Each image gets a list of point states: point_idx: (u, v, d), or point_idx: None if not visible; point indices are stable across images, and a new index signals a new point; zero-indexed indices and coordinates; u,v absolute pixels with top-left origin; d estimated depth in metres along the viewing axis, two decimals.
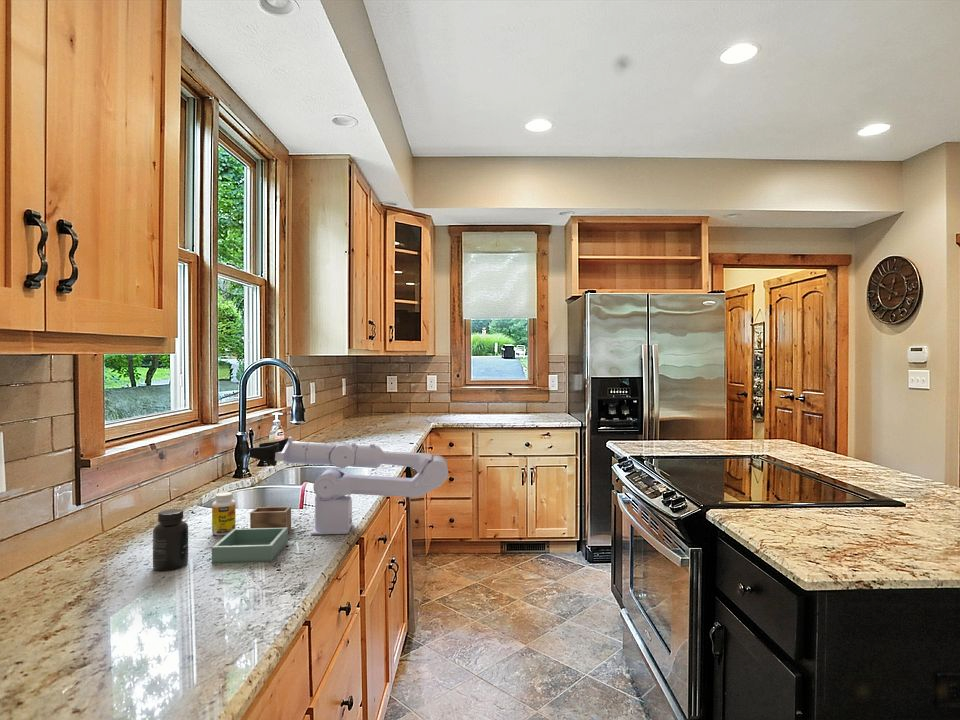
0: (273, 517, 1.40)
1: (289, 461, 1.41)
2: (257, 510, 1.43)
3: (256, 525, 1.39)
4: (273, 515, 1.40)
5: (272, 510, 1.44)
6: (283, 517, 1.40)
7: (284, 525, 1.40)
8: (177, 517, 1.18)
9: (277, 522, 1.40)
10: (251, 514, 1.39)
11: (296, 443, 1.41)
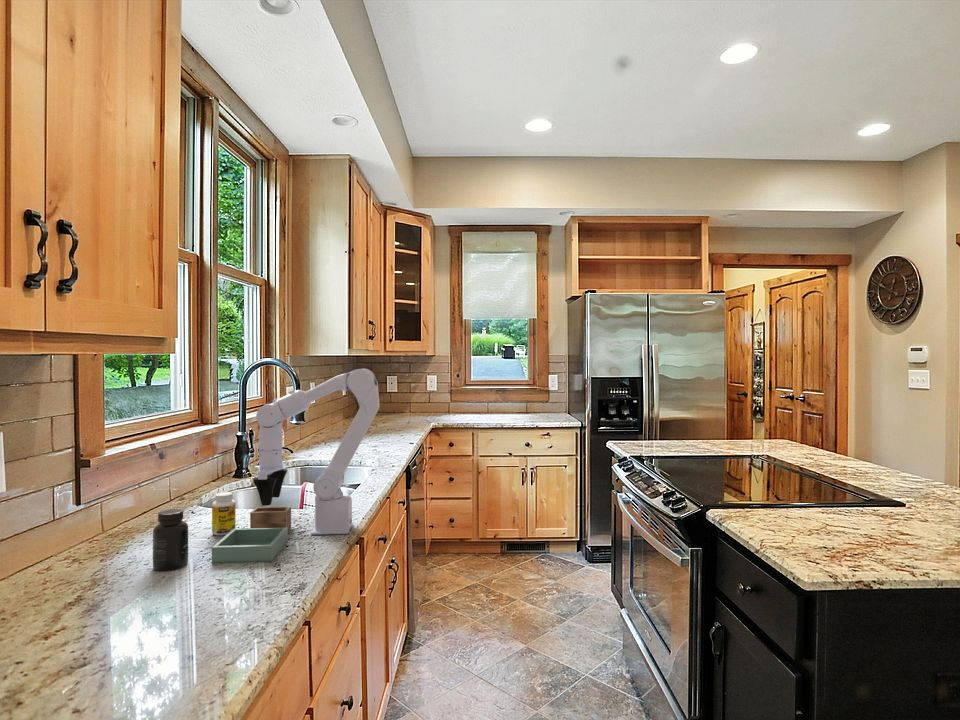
0: (273, 517, 1.40)
1: (277, 466, 1.40)
2: (257, 510, 1.43)
3: (256, 525, 1.39)
4: (273, 515, 1.40)
5: (272, 510, 1.44)
6: (283, 517, 1.40)
7: (284, 525, 1.40)
8: (177, 517, 1.18)
9: (277, 522, 1.40)
10: (251, 514, 1.39)
11: (259, 460, 1.41)
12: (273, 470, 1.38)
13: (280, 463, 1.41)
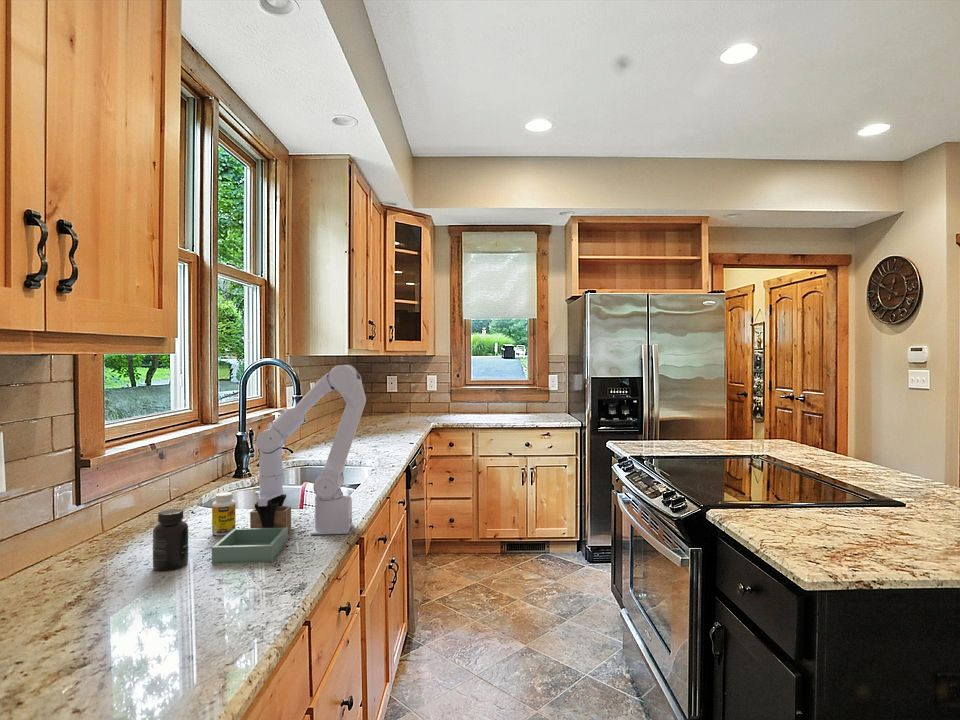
0: None
1: (277, 491, 1.40)
2: None
3: (256, 524, 1.39)
4: None
5: None
6: (283, 516, 1.40)
7: (284, 524, 1.40)
8: (177, 517, 1.18)
9: (277, 521, 1.40)
10: (251, 513, 1.39)
11: (259, 486, 1.41)
12: (273, 496, 1.38)
13: (280, 488, 1.41)
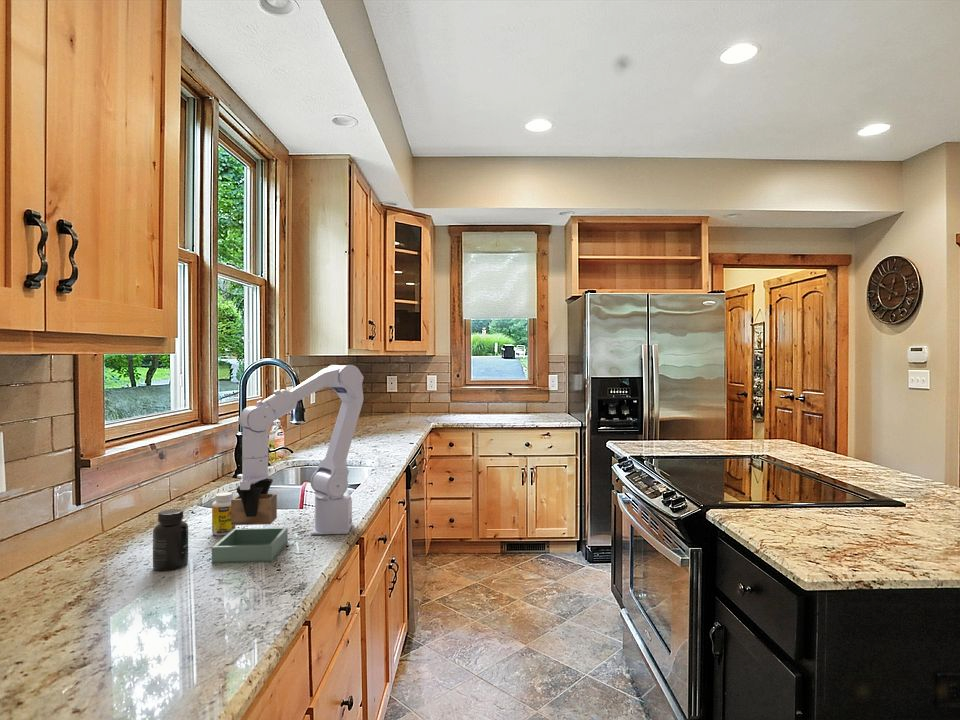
0: None
1: (261, 474, 1.28)
2: (239, 497, 1.31)
3: (238, 513, 1.27)
4: None
5: None
6: (267, 505, 1.28)
7: (268, 513, 1.28)
8: (177, 517, 1.18)
9: (261, 510, 1.28)
10: (232, 501, 1.27)
11: (242, 469, 1.28)
12: (257, 479, 1.26)
13: (265, 471, 1.29)
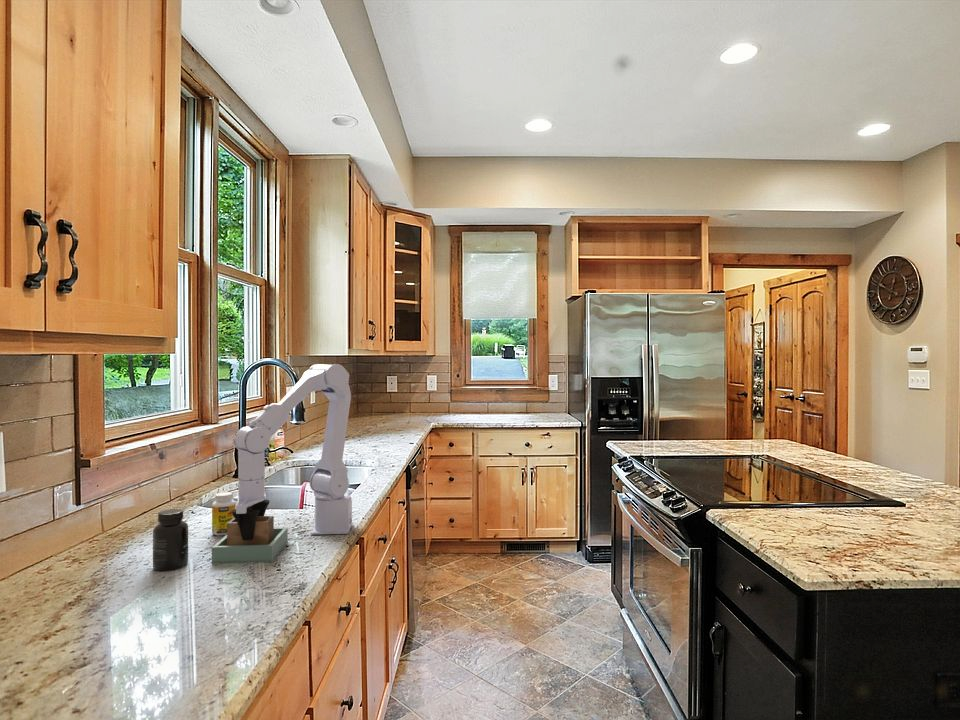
0: None
1: (258, 497, 1.25)
2: (235, 520, 1.28)
3: (234, 537, 1.24)
4: None
5: None
6: (264, 528, 1.25)
7: (265, 537, 1.25)
8: (177, 517, 1.18)
9: (257, 533, 1.25)
10: (228, 525, 1.24)
11: (238, 491, 1.26)
12: (254, 502, 1.23)
13: (262, 493, 1.26)
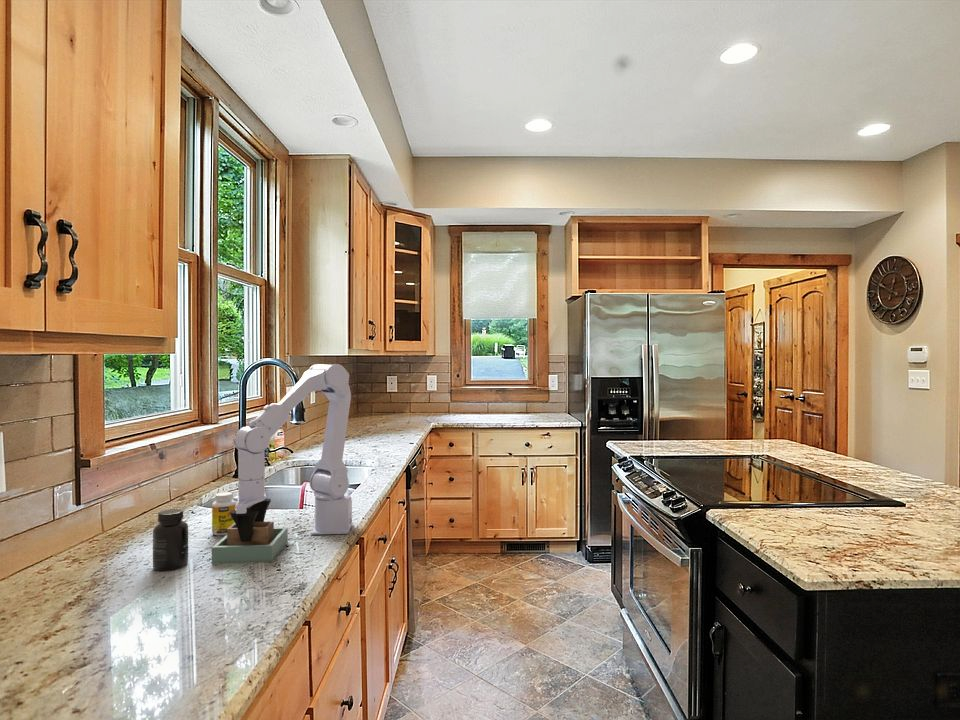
0: (253, 533, 1.25)
1: (258, 497, 1.25)
2: (235, 526, 1.28)
3: (234, 543, 1.24)
4: (253, 531, 1.25)
5: None
6: (264, 534, 1.25)
7: (265, 543, 1.25)
8: (177, 517, 1.18)
9: (258, 539, 1.25)
10: (228, 531, 1.24)
11: (238, 491, 1.26)
12: (254, 502, 1.23)
13: (262, 493, 1.26)
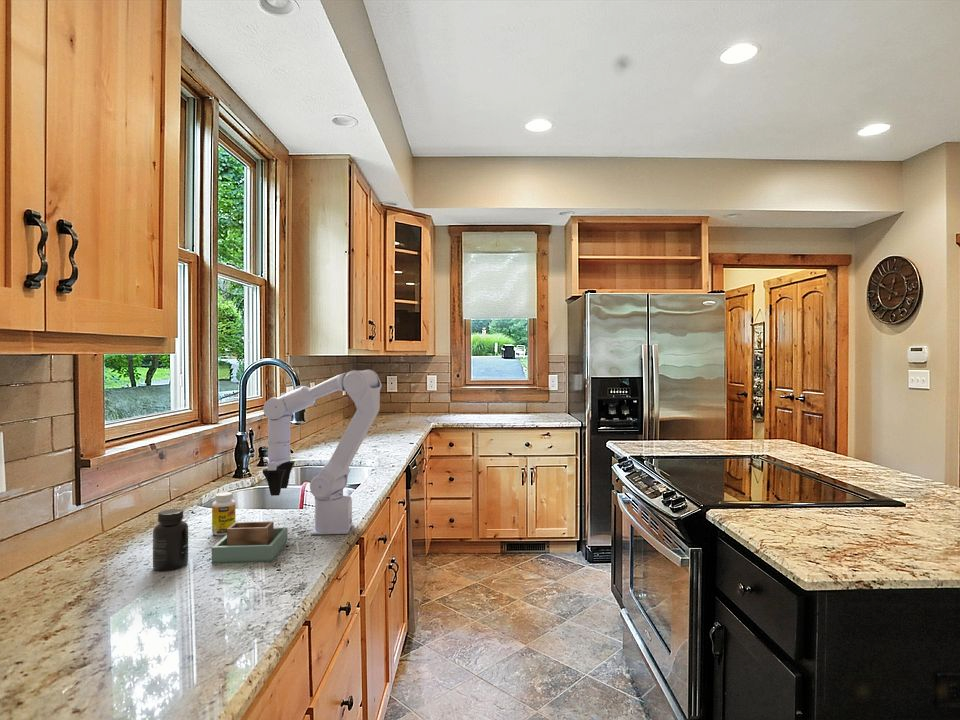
0: (253, 533, 1.25)
1: (285, 457, 1.45)
2: (235, 526, 1.28)
3: (233, 543, 1.24)
4: (253, 531, 1.25)
5: (252, 525, 1.29)
6: (264, 534, 1.25)
7: (265, 543, 1.25)
8: (177, 517, 1.18)
9: (257, 539, 1.25)
10: (228, 531, 1.24)
11: (268, 452, 1.45)
12: (282, 461, 1.43)
13: (288, 455, 1.46)
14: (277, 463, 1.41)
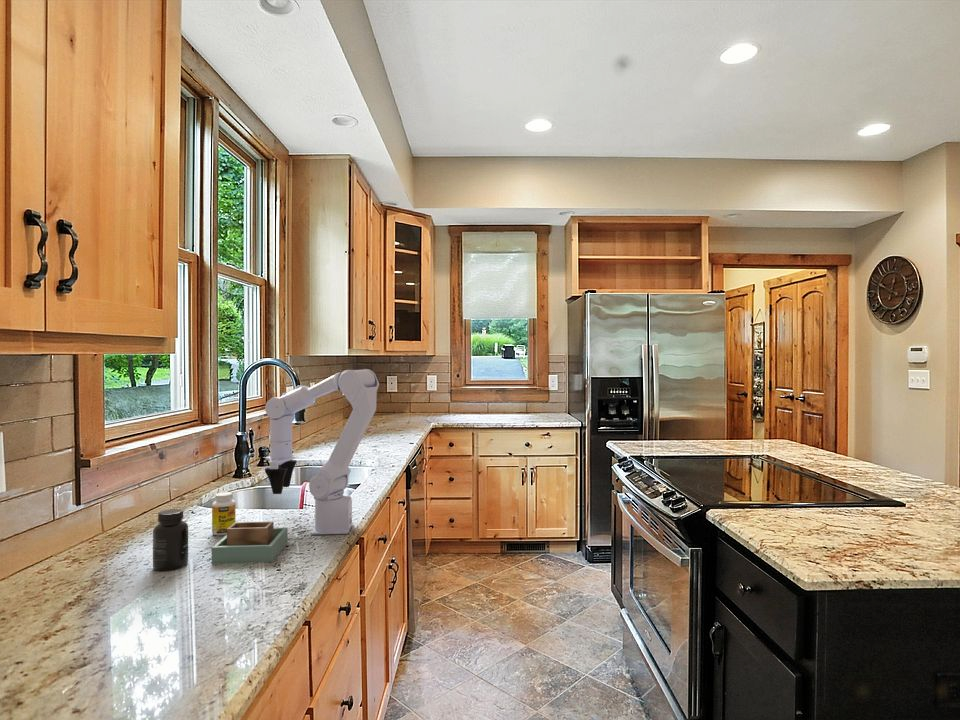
0: (253, 534, 1.25)
1: (287, 456, 1.46)
2: (235, 526, 1.28)
3: (233, 543, 1.24)
4: (252, 531, 1.25)
5: (252, 525, 1.29)
6: (264, 534, 1.25)
7: (265, 543, 1.25)
8: (177, 517, 1.18)
9: (257, 539, 1.25)
10: (228, 531, 1.24)
11: (270, 451, 1.47)
12: (284, 460, 1.44)
13: (290, 454, 1.47)
14: (279, 462, 1.42)
